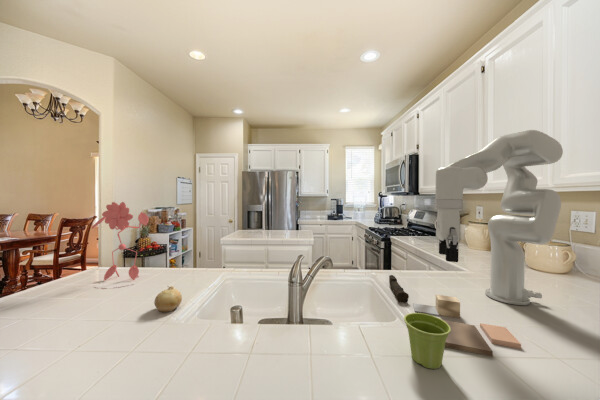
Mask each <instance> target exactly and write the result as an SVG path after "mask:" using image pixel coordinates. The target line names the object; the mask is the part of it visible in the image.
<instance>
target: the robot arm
mask: <svg viewBox="0 0 600 400" xmlns="http://www.w3.org/2000/svg"><path fill="white" fill-rule="evenodd" d="M563 153H564V150H563V147H562V145H561V143H560V142H559V141H558V140H557V139H556V138H553V137H551V136H550V135H548V134H547V133H544V132H543V131H539V130H536V129H528V130H524V131H518V132H514V133H509V134H504V135H500V136H499V137H497V138H495V139H494V140H492V141H491V142H490V143H488V144H487V145H486V146H484V147H483V148H482V149H481V150H479V151H478V152H475V153H473V154H470V155H468V156H465V157H464V158H460V159H458V160H457V161H455V162H453V163H452V162H451V163H450V164H449V165H447V166H445V167H439V168H437V169H436V172H435V203H434V205H435V207H434V208H435V210H437V214H436V229H435V237H436V238H438V240H439V241H438V254H439V255H444V256H445V261H446V262H449V263H450V262H451V263H452V262H453V263H458V262H459V241H460V239H461V218H460V217H461V216H460V211H463V209H464V206H463V205H464V200H463V199H464V191H476V190H480V189H482V188H484V187H485V186H486V184H487V182H488V180H489V179H488V174H487V173H490V172H494V171H496V170H498V169H499V168H501V167H503V169H504V171H505V175H506V176H507V181H506V185H505V188H504V192H503V195H502V197H501V201H500V209H501V210H502V211H503V212H504V213H507V214H496V215H493V216H492V217H490V218H489V220H488V221H487V222H488V223H487V229H488V234H489V239H490V288H487V289H485V290H484V294H485V295H486V296H487V297H489V298H490V299H491V300H492V299H493V300H495V301H499V302H502V303H504V304H510V305H514V306H528V305H530V304H531V300H530V299H531V298H535V299H543V294H542V293H541V292H537V291H535V292H534V291H533V290H529V289H526V288H525V269H526V268H525V264H526V263H525V259H526V257H525V252H524V248H522V246H521V245H520V243H519V242H521V243H527V244H534V245H547V244H548V243H550V242H551V241H552V239H553V236H554V233H555V229H556V227H557V223H558V219H559V217H560V213H561V212H560V211H561V209H562V199H561V196H560V194H559V193H558V192H557V191H556V190H553V189H549V188H537V185H538V178H537V177H536V176H535V174H534V173H533V172H532V171H530V170H529V169H528V168H527V167H531V166H532V167H533V166H535V167H536V166H542V165H543V166H544V165H545V166H546V165H553V164H555V163H557V162H558V161H559V160H561V158H562V157H563Z"/></svg>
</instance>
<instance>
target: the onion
mask: <svg viewBox="0 0 600 400" xmlns="http://www.w3.org/2000/svg"><path fill="white" fill-rule="evenodd" d="M182 299H183V296H182V293H181V291H179V290H178V289H176V288H175V287H174V286H172V285H171V286H169V285H167V289H164V290H162V291H160V292H159V293H158V294H157V295H156V297H155V299H154V302H153V303H154V306H155V308H156V310H157V311H158V312H161V313H166V312H172V311H174V310H175V309H176V308H178V307H179V306H181V303H182Z"/></svg>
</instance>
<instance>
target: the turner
mask: <svg viewBox="0 0 600 400" xmlns="http://www.w3.org/2000/svg"><path fill="white" fill-rule="evenodd" d="M412 306H413V309H414V313H417V312H418V313H423V314H428V315H432V316H435V315H436V316H435V317H440V316H445V317H449V318H450V317H452V318H456V319H457V318H458V319H461V301H460V299H458V297H456V296H448V295H442V294H435V306H434V305H427V304H422V303H415V302H413V303H412Z"/></svg>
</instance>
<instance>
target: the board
mask: <svg viewBox="0 0 600 400" xmlns="http://www.w3.org/2000/svg"><path fill="white" fill-rule="evenodd" d="M442 320H443V321H445V322H446V323H447V324H448V325H449V326H450V328H451V331H450V333H449V334H448V337H447V339H446V342H445V347H444V348H449V349H454V350H460V351H464V352H469V353H474V354H479V355H483V356H489V357H493V356H494V355H493V354H494V351H493V350H492V348H491V347H490V345H489V344H488V342H487V341H486V340H485V338H484V337H483V336H482V334H481V333H480V331H479V330H478V328H477V327H476V326H475V325H474V324H468V323H462V322H457V321H451V320H445V319H442Z"/></svg>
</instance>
